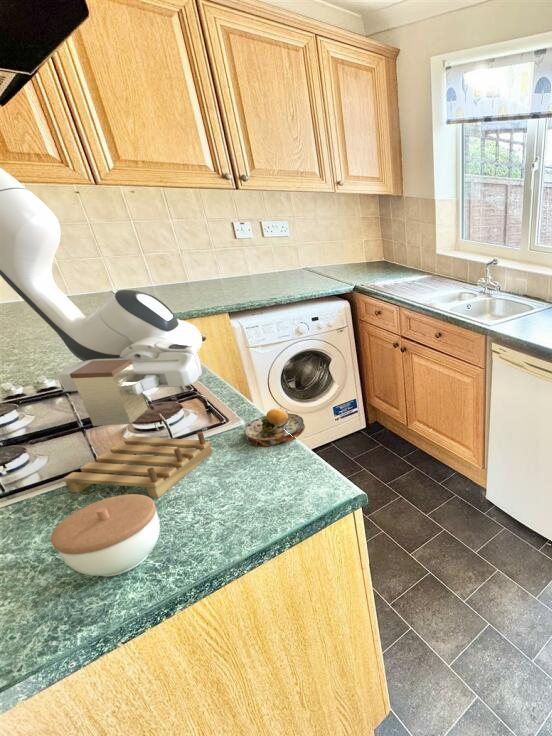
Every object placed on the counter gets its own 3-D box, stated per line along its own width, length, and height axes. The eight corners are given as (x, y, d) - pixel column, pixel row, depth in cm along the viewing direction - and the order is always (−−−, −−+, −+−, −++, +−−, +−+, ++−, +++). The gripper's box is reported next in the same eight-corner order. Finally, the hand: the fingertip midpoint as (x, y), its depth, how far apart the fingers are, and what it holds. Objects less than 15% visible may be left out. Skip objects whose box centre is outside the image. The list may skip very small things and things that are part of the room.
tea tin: (92, 426, 72) (69, 373, 68) (112, 410, 77) (92, 360, 73) (131, 424, 74) (111, 372, 69) (149, 408, 79) (131, 359, 74)
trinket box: (60, 567, 60) (32, 516, 56) (150, 522, 68) (131, 476, 64) (90, 604, 55) (62, 552, 51) (183, 551, 63) (165, 503, 59)
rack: (68, 492, 73) (56, 466, 71) (136, 447, 86) (127, 424, 84) (159, 498, 73) (150, 472, 71) (213, 453, 86) (207, 430, 84)
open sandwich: (286, 414, 102) (281, 386, 98) (316, 430, 96) (311, 401, 93) (234, 434, 92) (226, 405, 89) (263, 453, 87) (256, 422, 83)
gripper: (82, 348, 81) (26, 378, 69) (203, 345, 85) (170, 373, 73) (94, 378, 83) (42, 411, 71) (211, 374, 88) (180, 404, 76)
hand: (108, 392), depth 72 cm, fingers closed on tea tin, 5 cm apart
